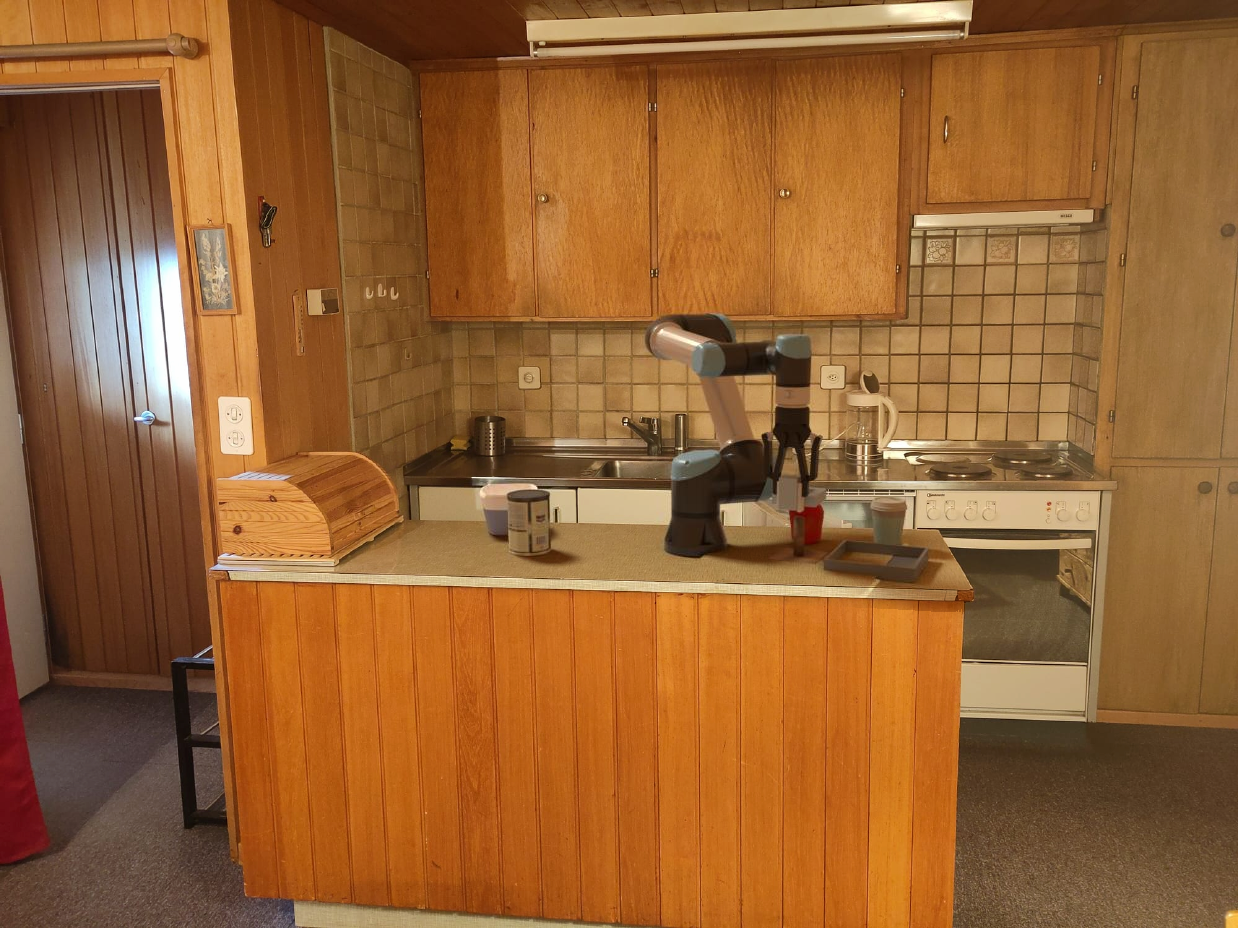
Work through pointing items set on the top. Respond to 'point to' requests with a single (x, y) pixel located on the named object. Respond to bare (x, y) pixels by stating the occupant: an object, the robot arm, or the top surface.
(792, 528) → the apple
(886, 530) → the coffee cup
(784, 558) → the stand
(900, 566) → the tray
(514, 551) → the coffee can
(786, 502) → the ring
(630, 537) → the top surface
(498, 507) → the plastic food container
